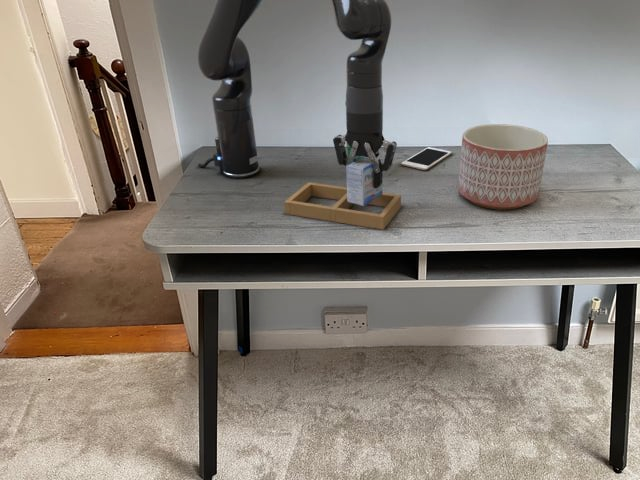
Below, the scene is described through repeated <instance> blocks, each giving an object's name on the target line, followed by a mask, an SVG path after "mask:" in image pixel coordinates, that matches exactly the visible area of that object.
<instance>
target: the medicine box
mask: <svg viewBox="0 0 640 480" xmlns="http://www.w3.org/2000/svg"><path fill="white" fill-rule="evenodd" d="M381 160H382V163H383V164H384V160H383V158H381ZM345 167H346V187H347V201H348V202H350V203H353V204H352V205H357V206H361V207H365V206H367V205H369V204H368V203H370V202H371V201H373V200H374V199H376V198H377V197H379V196H380V195H382V193H383V183H382V184H381V185H380V186H379V187H378V188H377V189H376V188H374V172H375V170H374V167H373V165H372V163H371V162H370V159H369V157H363V158H361V159H359V160H357V161H355V162H353V163H351V164H349V165H347V166H345Z"/></svg>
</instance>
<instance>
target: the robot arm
mask: <svg viewBox="0 0 640 480" xmlns="http://www.w3.org/2000/svg"><path fill="white" fill-rule="evenodd" d="M263 2H264V0H216V1H215V4H214V8H213V11H212V14H211V17H210V18H209V21H208V23H207V26H206V29H205V30H204V33H203V36H202V38H201V39H200V42H199V46H198V49H197V64H198V67H199V68H198V69H199V70H200V72H201V73H202V75H203V76H204V77H205V78H206V79H208V80H211V81H214V82H215V81H221V82H220V85H219V87H218V88H217V90H216V91H215V92H214V93H213V94H212V96H211V104H212V110H213V115H214V121H215V127H216V134H217V136H215V138H214V143H215V148H216V153H214V154H213V155H212V157H210V158H208V159H206V160H205V162H204V163H201V162H200V163H198V164H197V166H198V168H199V167H200V168H206V167H207V166H208V165H209V164H210V163H211V162H214V167H219V172H220V174H222V175H224V176H225V177H228V178H232V179H243V178H245V179H246V178H250V177H253V176H255V175H257V174H259V173H260V165H259V159H258V151H257V143H256V135H255V127H254V119H253V111H252V110H253V109H252V102H251V101H252V99H251V98H252V94H253V82H252V80H253V79H252V66H251V65H252V64H251V58H250V54H249V50H248V47H247V45H246V43H245V41H243V40H242V38H240V37H239V34H240V32H241V30H242V29H243V27H245V25H246V24H247V23H248V21H249V20H250V19H251V18H252V17H253V15H255V13H256V12H257V11H258V9H259V8H260V7H261V5H262V4H263ZM330 3H331V7H332V12H333V16H334V22H335V25H336V27H337V29H338V31H339V32H340V33H341V34H342V36H343V37H345V38H346V39H348V40H350V41H358V40H361V43H360V46H359V47H358V48H357V49H356V50H354V51H353V52H351V53H349V54H348V55H347V58H346V91H345V117H346V118H345V119H346V121H345V123H346V133H345V135H342V134H338V135H336V136H335V137H333V139H332V143H333V146H334V150H335V151H334V152H335V154H336V159H337V163H338V164H339V165H340V166H342V165H343V166H344V167H346V166H347V165H349V164H351V163H353V162H355V161H356V160H357V157H358V156H365V157H369V159H370V162H371V163H372V165H373V167H374V170H375V172H374V188H376V189H377V188H378V187H379V186H380V185H381V184H382V185H383V183H384V182H383V181H384V179H383V177H384V172H387V171H388V170H389V169H390V168H391V167H392V165H393V162H394V161H393V160H394V158H395V153H396V150H397V145H398V144H397V142H396V141H388V140H386V139H385V137H384V134H383V129H384V128H383V127H384V126H383V125H384V124H383V123H384V94H383V93H384V92H383V61H384V57H385V54H386V50H387V47H388V43H389V38H390V34H391V30H392V13H391V9H390V6H389V5H388V2H387V1H386V0H330ZM346 142H347V143H348V145H349V146H350V148H351V151H350V154H349V157H348V153H347V148H346V146H345V145H346ZM382 147H383V149H384V152H385V156H384V160H383V163H382V160H381V159H382V154H381V152H380V149H381V148H382Z"/></svg>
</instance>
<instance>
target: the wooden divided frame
mask: <svg viewBox="0 0 640 480" xmlns="http://www.w3.org/2000/svg"><path fill="white" fill-rule="evenodd" d="M311 197H317V198H323V199H330V200H337V201H336V203H335V204H334V205H333V206H329V205H322V204H318V203H317V204H316V203H311V202H310V203H309V202H307V201H308V200H309V199H311ZM353 205H354V204H353V203H350V202H348V201H347V186H341V185H332V184H325V183H319V182H318V183H317V182H310V181H308V182H307V183H306V184H305V185H303V186H302V187H300V188H299V189H298V190H296V191H295V193H293V194H292V195H290V196H289V197H288V198H286V200H285V201H284V212H285V215H291V216H297V217H303V218H310V219H315V220H320V221H321V220H322V221H326V222H327V221H328V222H334V223H340V224H346V225H353V226H359V227H365V228H371V229H378V230H385V228H386V227H387V226H388V224H389V223H390V222H391V220H392V219H393V218H394V217H395V215H396V214H397V213H398V211H399V210H400V209H401V208H402V194H395V193H387V192H382V195H380V196H379V197H377V198H376V199H374V200H373V201H371V202H370V203H368V204H367V205H371V206H376V207H377V206H378V207H383V208H384V209H383V210H382V211H381V213H376V212H368V211H361V210H356V209H350V208H351V207H352V206H353Z"/></svg>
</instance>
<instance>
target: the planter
mask: <svg viewBox="0 0 640 480" xmlns="http://www.w3.org/2000/svg"><path fill="white" fill-rule="evenodd" d="M461 137H462V138H461V149H460V162H459V174H458V192H459V194H460V195H461V196H462V197H463V198H465V199H466V200H468V201H469V202H470V203H472V204H474V205H477V206H479V207H482V208H486V209H492V210H514V209H518V208H522V207H524V206H526V205H530V204H531V203H534V202H535V201H537V199H538V198H539V196H540V191H541V186H542V180H543V175H544V174H543V173H544V169H545V168H544V167H545V161H546V156H547V149H548V144H549V139H548V136H547V135H546V134H545V133H543V132H541V131H539V130H537V129H534V128H530V127H527V126H522V125H515V124H505V123H489V124H488V123H487V124H480V125H476V126H472V127H469V128H467V129H465V130H464V131H463V133H462V136H461Z"/></svg>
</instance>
